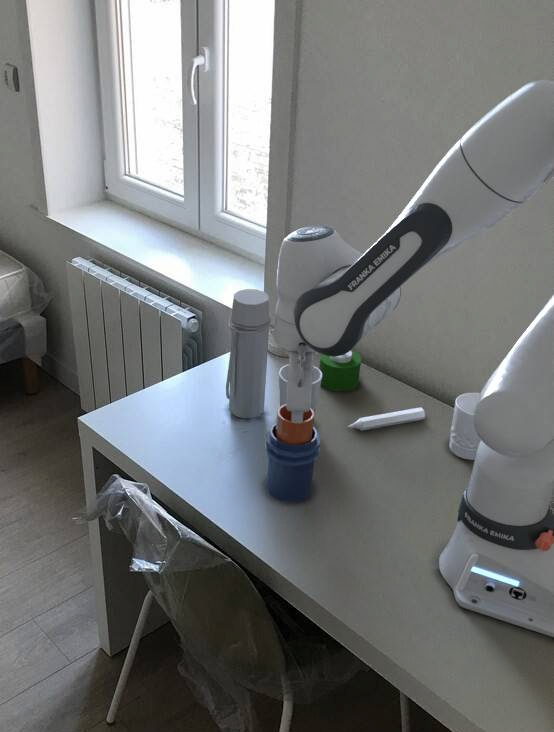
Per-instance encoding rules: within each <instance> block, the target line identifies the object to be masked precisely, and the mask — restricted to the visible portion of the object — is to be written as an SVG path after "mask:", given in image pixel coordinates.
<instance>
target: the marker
mask: <svg viewBox="0 0 554 732" xmlns="http://www.w3.org/2000/svg"><path fill="white" fill-rule="evenodd" d="M425 418H426V412H425V409H423V408H422V407H421V406H420V407H414V408H409V409H404V410H399V411H392V412H387V413H382V414H375V415H370V416H364V417H359V418H358V419H357V420H356V421H355V422H353V423H351V424H349V425H348V426H347V428H348V429H349V428H350V429H356V430H359V431H368V430H372V429H378V428H383V427H389V426H395V425H400V424H407V423H412V422H417V421H423V420H424V419H425Z"/></svg>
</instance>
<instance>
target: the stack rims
mask: <svg viewBox="0 0 554 732" xmlns="http://www.w3.org/2000/svg"><path fill="white" fill-rule="evenodd" d="M265 435H266V441H265V453H266V454H265V455H267V457H268V456H269V457H270V458H272V459H273V460H274V461H275V462H277V463H280V464H284V465H289V466H300V465H305V464H310V463H312V462H313V461H314V460H315V461H316V459H317V458H319V456H320V447H321V439H320V434H319V433H318V435H317V442H316V445H315V446H313V447H312V448H311V449H310V450H306V451H303V452H290V451H284V450H280V449H279V448H277V447H276V446H275V445H273V444H272V443H271V440H270V438H269V436H270V430H269V431H267V432H266V434H265ZM270 449H272V450H273V451H274V452H276V453H277V454H279V455H284V456H289V457H293V458H297V457H302V456H308V455H312V454H313V453H314V452H315V453H314V454H313V455H312V456H311V457H310V458H308V459H305V460H299V461H290V460H284V459H281V458H279V457H277V456H275V455H274V454H273V453H272V452H271V451H270Z"/></svg>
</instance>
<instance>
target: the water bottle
mask: <svg viewBox="0 0 554 732" xmlns="http://www.w3.org/2000/svg"><path fill="white" fill-rule="evenodd" d="M232 300H233V301H232V305H231V313H230V314H231V315H230V317H229V319H228V328H229V329H230V332H231V340H230V351H229V352H230V353H229V360H228V367H227V376H226V381H225V382H226V384H225V396H226V399H228V410H229V411H230V413H232V414H233V415H234V416H236V417H238V418H241V419H253V418H258V417H259V416H260V415H261V414H262V413H263V412H264V411H265V400H266V399H265V398H266V383H267V367H268V353H269V339H270V335H269V334H270V324H271V322H272V317H271V315H270V303H269V300H270V299H269V294H268V293H267V292H265V291H263V290H260V289H255V288H246V289H245V288H244V289H241V290H238V291H236V292H234V294H233V299H232Z"/></svg>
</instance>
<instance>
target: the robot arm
mask: <svg viewBox="0 0 554 732" xmlns="http://www.w3.org/2000/svg"><path fill="white" fill-rule="evenodd" d="M552 180H554V81H553V80H548V79H539V80H538V79H537V80H533V81H531V82H528V83H526V84H524V85H522V86H521V87H519V88H518V89H517V90H515V91H514V92H512V93H511V94H510V95H508V96H507V97H505V98H504V99H503V100H502V101H501V102H498V104H497V105H495V106H494V107H493V108H492V109H491V110H489V111H488V112H487V113H485V114H484V116H482V117H481V118H480V119H479V120H478V121H476V123H474V124H473V125H472V126H471V127H470V128H469V129H468V130H467V131H466V132H465V133H464V134H463V135H462V136H461V137H460V138H459V139H458V140H457V142H455V144H453V146H452V147H450V149H449V150H448V151H447V153H446V154H445V155H444V156H443V157H442V159H441V160H440V161H439V162H438V164H437V165H436V166H435V167H434V169H433V170H432V171H431V173H430V174H429V176H428V177H427V178H426V180H425V181H424V182H423V184H422V185H421V186H420V187H419V189H418V191H417V192H416V193H415V194H414V195H413V197H412V198H411V200H410V201H409V203H408V204H407V205H406V206H405V208H404V209H403V210H402V212H400V214H399V215H398V217H397V218H396V220H395V221H394V222H393V223H392V224H391V226H390V227H389V228H388V229H387V230H386V232H385V233H384V234H383V235H382V236H381V237H379V238H378V240H376V241H375V242H374V243H373V245H371V246H370V247H369V248H368V249H367V250H366V251H365V252H364V253H362V252H361V251H359V250H357V249H355V248H353V246H351V245H349V244H348V243H347V242H345V240H343V238H342V237H341V236H340V234H339V233H338V232H337V231H336V230H335V229H334V228H332V227H329V226H325V225H311V226H310V225H309V226H306V227H302V228H298V229H297V230H295V231H293V232H291V233H290V234H288V235H287V236H286V237H285V238H284V239H283V241H282V243H281V246H280V251H279V255H278V260H277V261H278V263H277V268H276V269H277V271H276V291H277V295H278V297H277V302H276V305H275V307H274V308H275V309H274V329H273V340H274V342H275V344H276V345H277V346H279V347H280V348H281V351H282V352H283V353H284V354H285V355H287V356H288V364H289V368H288V384H287V400H286V408H287V410H288V411H291V412H292V416H291V421H292V423H302V422H303V414H304V412H308V411H309V410H310V407H311V396H312V382H313V366H314V357H317V356H319V354H320V355H321V354H323V355H327V356H341V355H344V354H346V353H348V352H349V351H350V350H352V349H353V348H354V347H355V346H356V345H357V344H359V342H360V341H361V340H362V339H363V338H364V337H365V336H366V335H368V334H369V333H370V332H371V331H372V330H373V329H374V328H375V327H376V326H377V325H379V324H380V323H381V322H382V321H383V320H384V319H385V318H387V317H388V316H389V315H390V314H391V313H392V312H393V311H394V310H395V309H396V308H397V306H398V304H399V302H400V300H401V297H402V295H401V294H402V291H401V290H402V288H401V286H403V285H404V284H405V283H406V282H408V280H409V279H410V278H412V277H413V276H414V275H416V274H417V273H418V272H419V271H421V270H422V269H423V268H425V267H426V266H428V265H429V264H431V263H432V262H434V261H435V260H437V259H439V258H441V257H443V256H444V255H446V254H447V253H449V252H451V251H452V250H454V249H456V248H458V247H460V246H462V245H463V244H465V243H467V242H469V241H470V240H472V239H474V238H476V237H477V236H480V235H481V234H483V233H484V232H486V231H488V230H489V229H491V228H493V227H495V226H496V225H497V224H499V223H501V222H503V220H504V219H506V218H507V217H509V216H510V215H512V214H513V213H515V211H517V210H519V208H521V207H522V206H523V205H525V203H527V202H528V201H529V200H530V199H532V197H533V196H535V195H536V194H537V193H538V192H539V191H540V190H541V189H543V188H544V187H545V186H546V185H547V184H549V182H551V181H552ZM479 393H480V396H479V398H478V401H477V404H476V408H475V411H474V417H473V421H474V426H475V430H476V432H477V434H478V436H479V437H480V439H481V442H480V444H479V446H478V449H477V453H476V457H475V460H473V466H472V470H471V473H470V479H469V482H468V485H467V487H466V488H465V489H464V491H463V493H462V495H461V499H460V502H459V506H458V511H457V512H458V515H457V519H456V520H457V524H456V526H455V529H454V532H453V533H452V535H451V537H450V540H449V541H448V543H447V545H446V546H445V548H444V549H443V550H442V551H441V553H440V555H439V558H438V568H439V571H440V574H441V576H442V578H443V579H444V580H445V582H446V583H447V585H448V586H449V587H450V588H451V589H452V591H453V596H454V599H455V602H456V604H457V605H458V606H460V607H461V608H464V609H466V610H469V611H472V612H475V613H478V614H481V615H484V616H487V617H491V618H493V619H495V620H500V621H502V622H506V623H507V624H508V623H509V624H512V625H515V626H517V627H521V628H523V629H526V630H530V631H533V632H535V633H539V634H541V635H545V636H548V637H551V638H554V513H553V511H552V510H551V506H550V505H551V503H552V499H553V495H554V294H552V296H551V297H550V298H549V300H548V301H547V302H546V304H545V305H544V306H543V307H542V309H541V310H540V312H539V313H538V314H537V316H535V318H534V319H533V321H532V322H531V323H530V325H529V326H528V327H527V328H526V329H525V331H524V333H523V334H522V335H521V336H520V338H519V339H518V340H517V342H516V343H515V344H514V345H513V347H512V348H511V350H510V351H509V352H508V354H507V355H506V356H505V357H504V359H503V360H502V361H501V363H500V364H499V365H498V366H497V368H496V369H495V370H494V372H493V373H492V374H491V376H490V377H489V378H488V379H487V381H486V382H485V383H484V386H483V387H482V389H481V391H480V392H479Z"/></svg>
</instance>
